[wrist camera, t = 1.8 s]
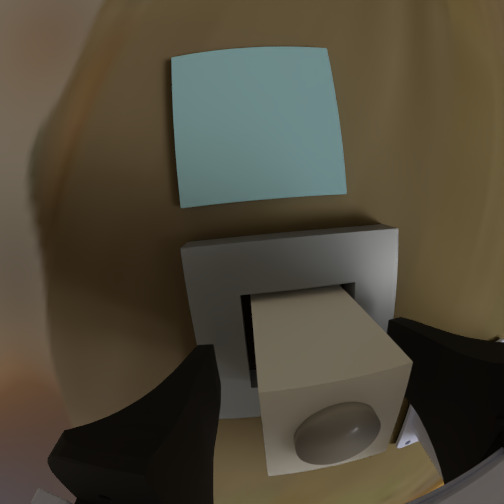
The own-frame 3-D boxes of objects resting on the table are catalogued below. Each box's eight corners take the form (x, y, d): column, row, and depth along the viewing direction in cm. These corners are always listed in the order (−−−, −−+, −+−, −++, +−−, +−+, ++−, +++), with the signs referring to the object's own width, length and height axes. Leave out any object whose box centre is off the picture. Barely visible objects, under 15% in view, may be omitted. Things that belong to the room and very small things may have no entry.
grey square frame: (382, 223, 12) (398, 228, 11) (371, 379, 14) (380, 394, 13) (187, 241, 12) (180, 248, 11) (216, 401, 14) (214, 419, 12)
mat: (323, 52, 10) (326, 48, 10) (342, 193, 12) (346, 194, 11) (173, 62, 10) (171, 57, 10) (183, 207, 12) (180, 208, 11)
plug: (335, 280, 13) (420, 369, 6) (333, 352, 14) (388, 458, 6) (249, 290, 13) (259, 403, 5) (257, 362, 14) (269, 485, 6)
